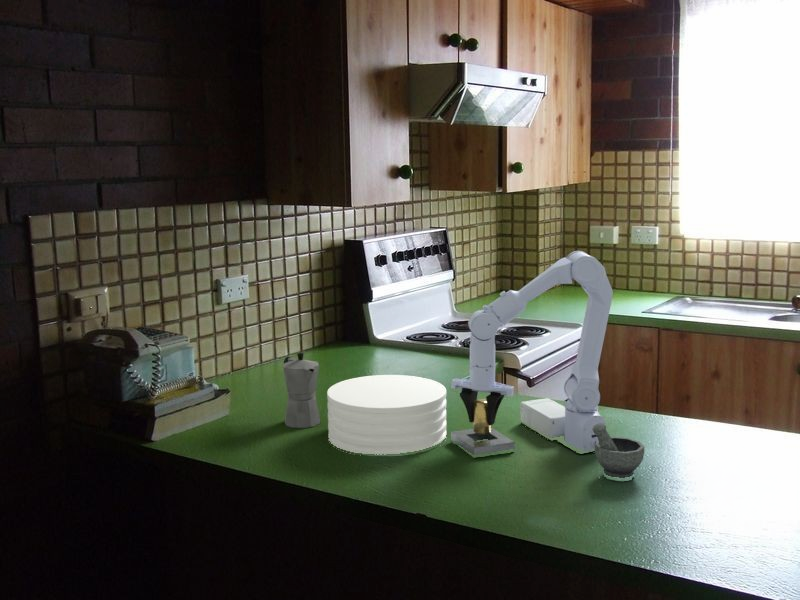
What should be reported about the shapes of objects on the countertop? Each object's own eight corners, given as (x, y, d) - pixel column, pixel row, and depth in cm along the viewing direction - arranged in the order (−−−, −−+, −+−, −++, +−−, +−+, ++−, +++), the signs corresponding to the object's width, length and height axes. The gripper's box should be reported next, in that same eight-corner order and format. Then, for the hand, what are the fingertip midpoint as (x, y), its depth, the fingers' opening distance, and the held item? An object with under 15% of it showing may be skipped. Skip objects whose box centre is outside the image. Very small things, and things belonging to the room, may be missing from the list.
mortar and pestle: (625, 465, 185) (627, 411, 183) (652, 481, 176) (654, 424, 174) (579, 472, 181) (581, 418, 179) (605, 489, 172) (606, 431, 170)
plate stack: (457, 423, 215) (457, 378, 213) (431, 462, 189) (430, 412, 187) (350, 415, 223) (349, 371, 221) (310, 452, 196) (309, 403, 194)
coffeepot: (332, 426, 213) (330, 355, 210) (297, 433, 208) (295, 360, 205) (303, 410, 226) (301, 343, 223) (270, 417, 221) (267, 348, 218)
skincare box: (519, 423, 214) (548, 443, 200) (519, 399, 213) (548, 418, 199) (549, 419, 216) (580, 439, 203) (550, 396, 215) (581, 414, 201)
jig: (514, 452, 194) (514, 441, 193) (474, 458, 190) (474, 448, 189) (489, 436, 205) (489, 426, 204) (450, 442, 201) (450, 431, 200)
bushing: (494, 431, 196) (495, 401, 195) (481, 434, 194) (481, 404, 193) (482, 427, 199) (483, 397, 198) (469, 430, 197) (470, 400, 196)
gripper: (519, 364, 194) (518, 422, 196) (460, 357, 201) (460, 413, 203) (507, 371, 188) (506, 431, 190) (447, 363, 195) (447, 421, 197)
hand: (481, 422), depth 196 cm, fingers closed on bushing, 4 cm apart
